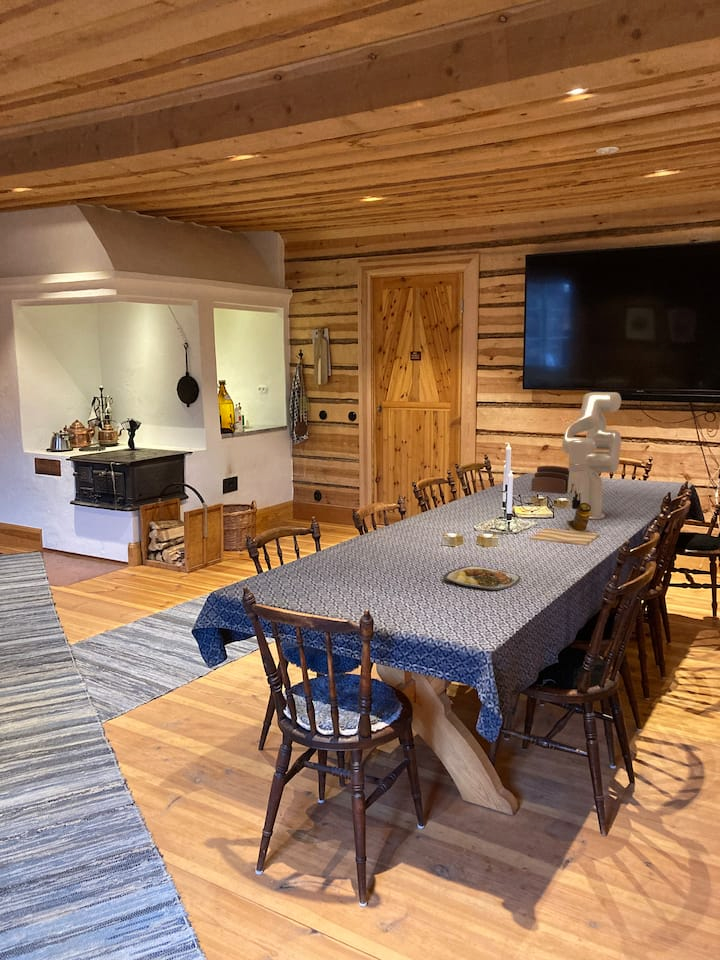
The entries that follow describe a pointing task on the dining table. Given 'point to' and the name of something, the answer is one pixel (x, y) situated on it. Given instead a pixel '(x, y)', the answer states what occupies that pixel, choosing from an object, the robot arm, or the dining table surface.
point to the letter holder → (551, 479)
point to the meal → (481, 577)
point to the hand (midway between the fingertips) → (576, 508)
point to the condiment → (580, 518)
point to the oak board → (565, 536)
